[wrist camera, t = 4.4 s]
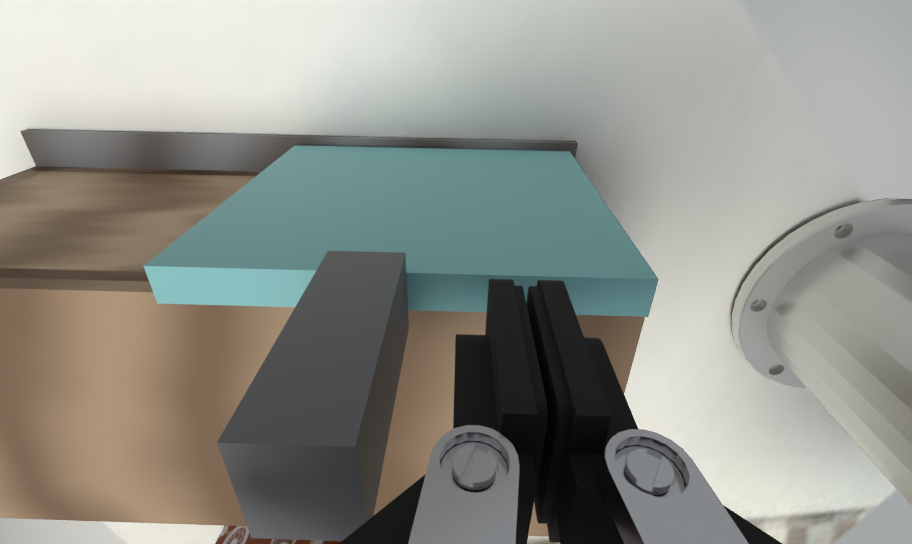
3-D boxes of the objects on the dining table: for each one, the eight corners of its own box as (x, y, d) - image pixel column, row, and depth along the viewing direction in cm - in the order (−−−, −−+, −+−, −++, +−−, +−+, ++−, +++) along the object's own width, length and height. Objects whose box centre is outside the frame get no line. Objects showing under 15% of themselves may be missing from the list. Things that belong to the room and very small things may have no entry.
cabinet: (575, 141, 23) (662, 251, 13) (544, 353, 30) (584, 537, 20) (27, 129, 23) (-324, 227, 13) (121, 341, 30) (-59, 515, 20)
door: (571, 139, 22) (819, 461, 6) (564, 186, 23) (761, 555, 8) (292, 133, 22) (-125, 431, 7) (300, 180, 24) (-37, 527, 8)
